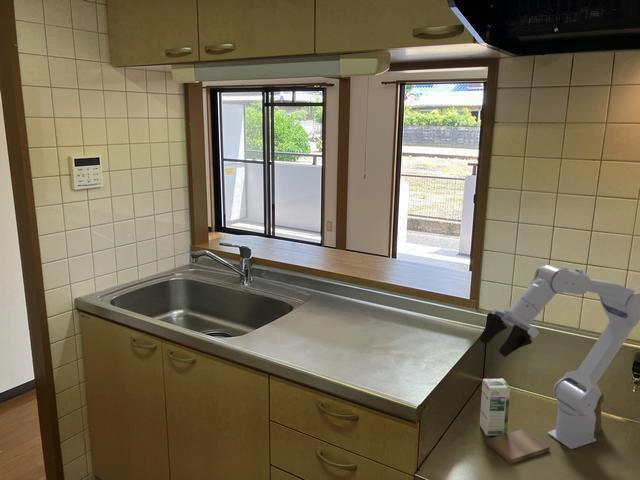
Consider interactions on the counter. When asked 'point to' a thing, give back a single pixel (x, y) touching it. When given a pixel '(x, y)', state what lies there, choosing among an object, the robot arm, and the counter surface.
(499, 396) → the syrup box
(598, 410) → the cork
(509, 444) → the walnut board
